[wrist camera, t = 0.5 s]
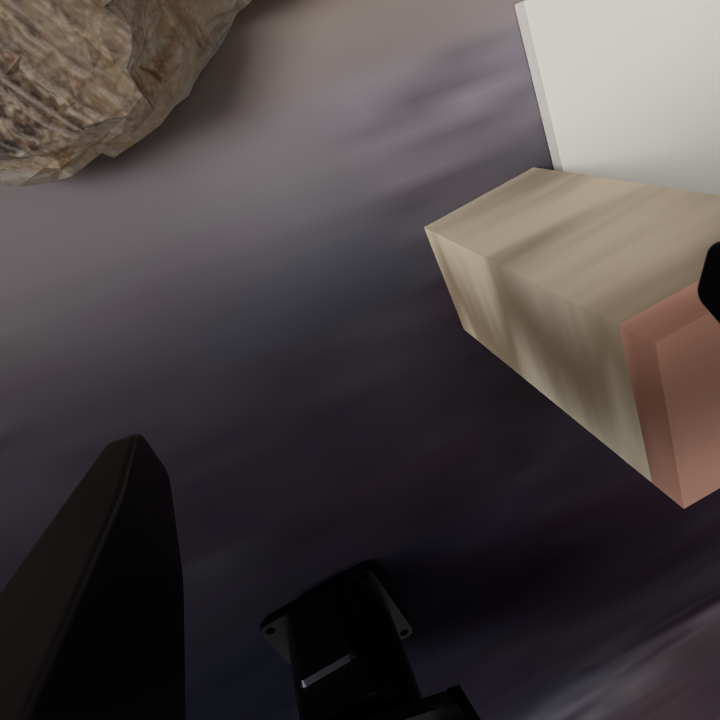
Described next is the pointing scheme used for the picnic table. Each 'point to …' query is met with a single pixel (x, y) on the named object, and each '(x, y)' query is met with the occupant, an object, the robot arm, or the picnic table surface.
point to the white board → (628, 88)
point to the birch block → (599, 310)
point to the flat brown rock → (96, 76)
